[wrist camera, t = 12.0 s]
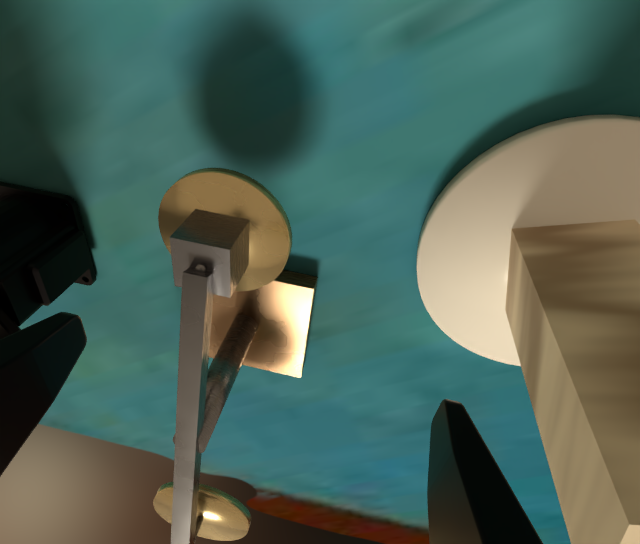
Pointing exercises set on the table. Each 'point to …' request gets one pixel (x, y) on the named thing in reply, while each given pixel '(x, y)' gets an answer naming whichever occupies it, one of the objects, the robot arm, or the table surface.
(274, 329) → the balance
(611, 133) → the saucer
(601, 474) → the birch block
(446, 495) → the robot arm
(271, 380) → the table surface
